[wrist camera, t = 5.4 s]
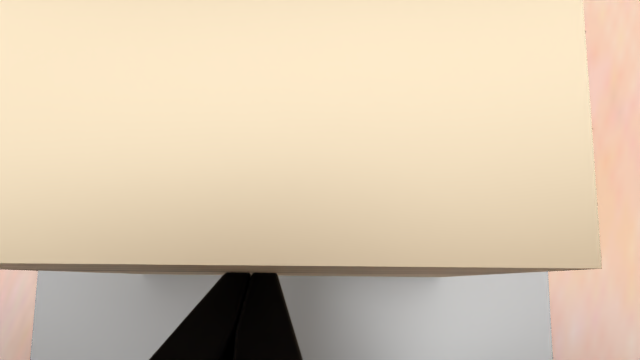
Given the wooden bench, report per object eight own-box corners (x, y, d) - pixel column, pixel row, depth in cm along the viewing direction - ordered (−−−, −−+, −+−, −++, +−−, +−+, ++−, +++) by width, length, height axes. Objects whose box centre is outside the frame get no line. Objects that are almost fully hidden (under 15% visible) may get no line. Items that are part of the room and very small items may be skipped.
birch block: (440, 277, 13) (601, 268, 5) (143, 274, 14) (-230, 260, 5) (432, -79, 15) (541, -595, 6) (164, -72, 15) (-93, -544, 7)
